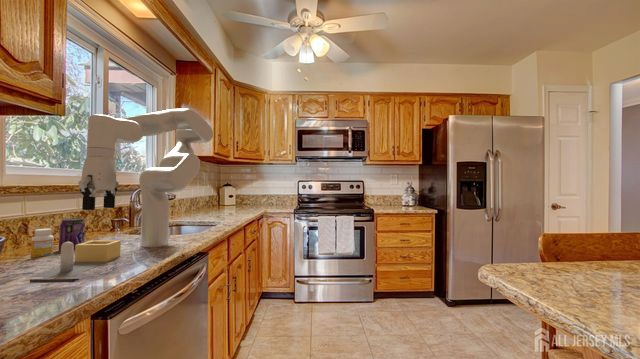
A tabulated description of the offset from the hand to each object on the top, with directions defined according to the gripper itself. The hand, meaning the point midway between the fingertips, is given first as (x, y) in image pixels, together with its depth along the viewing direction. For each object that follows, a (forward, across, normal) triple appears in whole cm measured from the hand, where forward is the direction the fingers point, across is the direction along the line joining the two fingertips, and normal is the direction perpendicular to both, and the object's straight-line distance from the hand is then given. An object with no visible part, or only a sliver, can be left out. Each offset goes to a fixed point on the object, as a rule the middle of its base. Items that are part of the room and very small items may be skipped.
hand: (99, 208), depth 92 cm
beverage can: (+17, -16, -19) cm, 30 cm away
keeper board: (+17, +6, 0) cm, 18 cm away
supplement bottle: (+17, -6, -21) cm, 28 cm away
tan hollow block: (+16, 0, 0) cm, 16 cm away
